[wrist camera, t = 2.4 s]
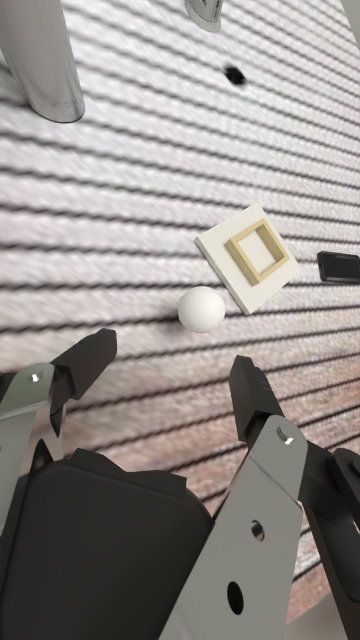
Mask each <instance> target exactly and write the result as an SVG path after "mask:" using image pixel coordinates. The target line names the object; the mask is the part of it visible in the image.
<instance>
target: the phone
mask: <svg viewBox="0 0 360 640" xmlns="http://www.w3.org/2000/svg"><path fill="white" fill-rule="evenodd" d="M317 259H318V265H319V264H321V267H320V265H319V272H320V278H321V280H322V281H323V282H334V283H351V284H360V257H359V256H357V255H350V254H342V253H334V252H327V251H322V252H319V253H318V254H317Z"/></svg>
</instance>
